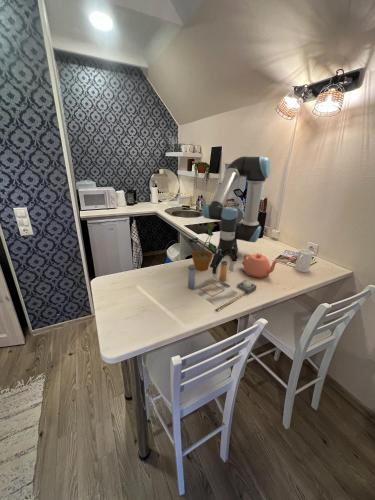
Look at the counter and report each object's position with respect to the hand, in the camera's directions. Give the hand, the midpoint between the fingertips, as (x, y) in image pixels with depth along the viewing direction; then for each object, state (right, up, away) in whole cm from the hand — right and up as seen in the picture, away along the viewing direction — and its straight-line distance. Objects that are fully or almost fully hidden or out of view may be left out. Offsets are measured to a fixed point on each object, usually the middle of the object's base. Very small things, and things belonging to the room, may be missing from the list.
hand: (223, 274), depth 121 cm
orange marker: (0, -4, +2) cm, 4 cm away
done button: (+12, -6, -5) cm, 14 cm away
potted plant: (-11, +2, +15) cm, 19 cm away
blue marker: (-18, -6, -7) cm, 20 cm away
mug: (+52, +1, +18) cm, 55 cm away
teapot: (+23, -1, +12) cm, 26 cm away
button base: (+12, -7, -5) cm, 14 cm away
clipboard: (-6, -8, -8) cm, 13 cm away
